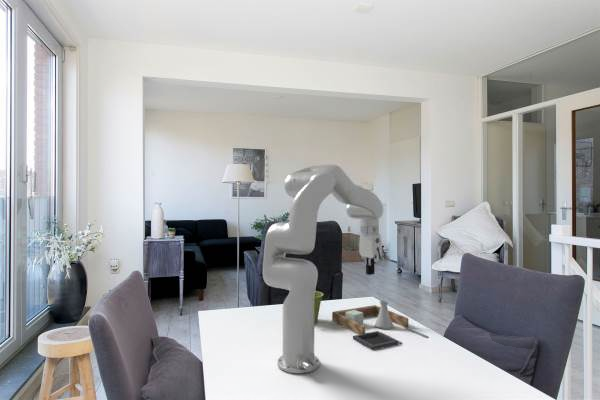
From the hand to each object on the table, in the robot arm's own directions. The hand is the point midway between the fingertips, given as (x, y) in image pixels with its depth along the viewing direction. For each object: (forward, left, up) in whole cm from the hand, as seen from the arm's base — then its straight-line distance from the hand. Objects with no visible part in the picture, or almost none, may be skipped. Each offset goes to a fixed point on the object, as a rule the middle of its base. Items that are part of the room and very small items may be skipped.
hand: (370, 274), depth 155 cm
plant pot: (+10, +24, -19) cm, 32 cm away
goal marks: (-20, +1, -19) cm, 28 cm away
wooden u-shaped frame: (-4, +4, -19) cm, 20 cm away
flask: (-9, +1, -19) cm, 21 cm away
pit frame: (-20, +14, -19) cm, 31 cm away
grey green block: (-2, +10, -19) cm, 21 cm away
